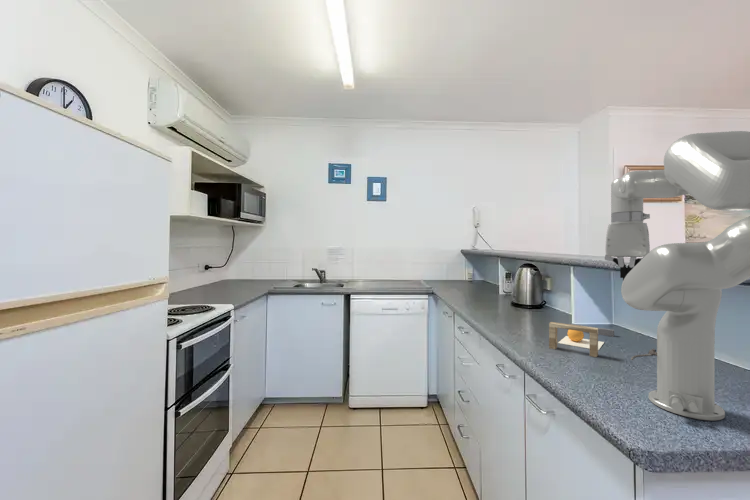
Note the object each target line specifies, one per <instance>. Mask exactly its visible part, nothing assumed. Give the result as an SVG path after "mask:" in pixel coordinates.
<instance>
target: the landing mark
mask: <svg viewBox="0 0 750 500" xmlns="http://www.w3.org/2000/svg"><path fill="white" fill-rule="evenodd" d="M557 344H560V345H566V346H572V347H577V348H583V349H588V350H590V339H588V338H583V339H582V340H581V341H579V342H575V341H572V340H570V339H569V337H568V335H565V336H564V337H563V338H562V339H560V341H557ZM604 344H605V341H600V340H598V351H600V349H601V348H602V346H603V345H604Z"/></svg>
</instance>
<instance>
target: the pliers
mask: <svg viewBox="0 0 750 500" xmlns="http://www.w3.org/2000/svg"><path fill="white" fill-rule="evenodd" d="M655 349H656V348H651V349H649V351H648V352H647V353H646V354H645V353H644V354H635V355H632V356H631V357H630V360H631V361H634V359H635V358H639V357H651V356H656V357H657V351H656V350H655Z"/></svg>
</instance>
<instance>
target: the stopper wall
mask: <svg viewBox="0 0 750 500" xmlns="http://www.w3.org/2000/svg"><path fill="white" fill-rule="evenodd" d="M569 324H570V325H578V326H585V327H592V328H598V336H599V335H600V336H606V337H612V338H613V337H615V329H610V328H603V327H597V326H589V325H581V324H575V323H569ZM584 333H587V334H590V333H589V332H584Z"/></svg>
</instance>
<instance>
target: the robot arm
mask: <svg viewBox="0 0 750 500" xmlns="http://www.w3.org/2000/svg"><path fill="white" fill-rule="evenodd" d="M685 195H690V196H691V197H692V198H694V199H695V200H696V201H697V202H698V203H699V204H701V205H702V206H704V207H707V208H709V209H711V210H712V209H713V210H717V211H723V212H726V211H727V212H730V211H731V212H733V211H734V212H735V211H739V212H740V211H750V131H747V130H734V131H733V130H731V131H714V132H700V133H699V132H698V133H690V134H687V135H684V136H682V137H680V138H677V139H676V140H675V141H674V142H673V143H671V144H670V146H668V148H667V150H666V151H665V154H664V157H663V169H648V170H634V171H633V170H631V171H628V172H626V173H624V174H623V175H622V176H621V177H618V178H615V179H613V180H612V182H611V184H610V216H611V217H610V224H609V223H608V224H607V229H606V237H605V256H604V260H605V261H608V262H613V263H615V264H616V265H617V266H618V267H619V269H620V270H619V271H620V272H619V276H620V278H621V279H622V282H621V283H622V284H621V288H620V291H621V297H622V300H623V301H624V303H626V305H628V306H629V307H631V308H632V309H635V310H639V311H646V312H647V311H649V312H665V313H664V314H663V315H662V317H661V319H660V320H659V322H658V324H657V328H656V329H657V331H656V352H657V356H656V389H655V390H651V391H650V392H648V399H649V401H650V402H651V403H652V404H653V405H655V406H657V407H659V408H661V409H663V410H665V411H668V412H669V413H670V412H671V413H673V414H676V415H679V416H683V417H686V418H691V419H696V420H702V421H711V422H712V421H713V422H714V421H721V420H723V419H725V417H726V410H724V409H723V407H721V406H720V405H718V404H717V403H715V370H716V369H715V368H716V367H715V360H716V359H715V358H716V357H715V354H716V353H715V352H716V351H715V343H716V341H715V340H716V336H715V335H716V321H717V315H718V311H719V308H720V304H721V300H722V295H723V293H722V290H725V289H726V290H727V289H730V288H734V287H736V286H738V285H740V284H742V283H744V282H745V281H747V280H749V279H750V216H747V217H744V218H742V219H740V220H738V221H736V222H734V223H731V224H730V225H729V226H728V227H726V228H725V229H724V230H723V231H722V232H720V233H719V234H718V235H717V236H715V237H714V238H712V239H710V240H708V241H703V242H685V243H684V242H683V243H682V242H675V243H665V244H662V245H659V246H657V247H655V248H653V249H650V248H651V247H650V233H649V226H648V224H647V222H644V221H645V220H648V219H649V220H650V219H651V214H650V213H645V212H644V199H665V198H666V199H667V198H669V199H670V198H675V197H681V196H685ZM624 258H630V259H629V262H628V263H629V264H628V265H627V264H625V259H624Z"/></svg>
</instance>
